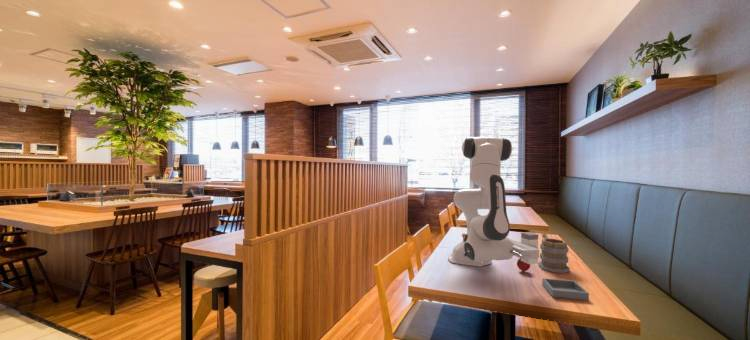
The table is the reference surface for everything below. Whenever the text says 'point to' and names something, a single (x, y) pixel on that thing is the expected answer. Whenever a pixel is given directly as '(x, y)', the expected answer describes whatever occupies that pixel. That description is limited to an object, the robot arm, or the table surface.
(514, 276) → the table surface
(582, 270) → the table surface
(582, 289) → the walled box
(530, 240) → the plug
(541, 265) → the tankard
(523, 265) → the onion
